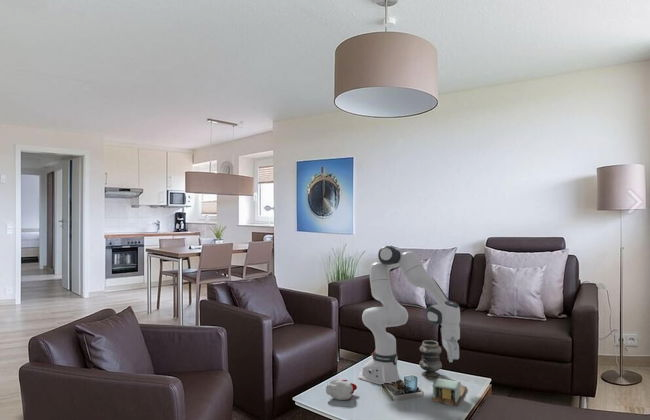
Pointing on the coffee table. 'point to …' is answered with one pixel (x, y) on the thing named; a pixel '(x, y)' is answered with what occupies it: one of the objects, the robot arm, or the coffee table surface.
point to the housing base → (452, 400)
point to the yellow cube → (446, 393)
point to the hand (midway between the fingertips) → (450, 361)
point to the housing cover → (447, 387)
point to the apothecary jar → (430, 358)
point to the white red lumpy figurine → (340, 389)
